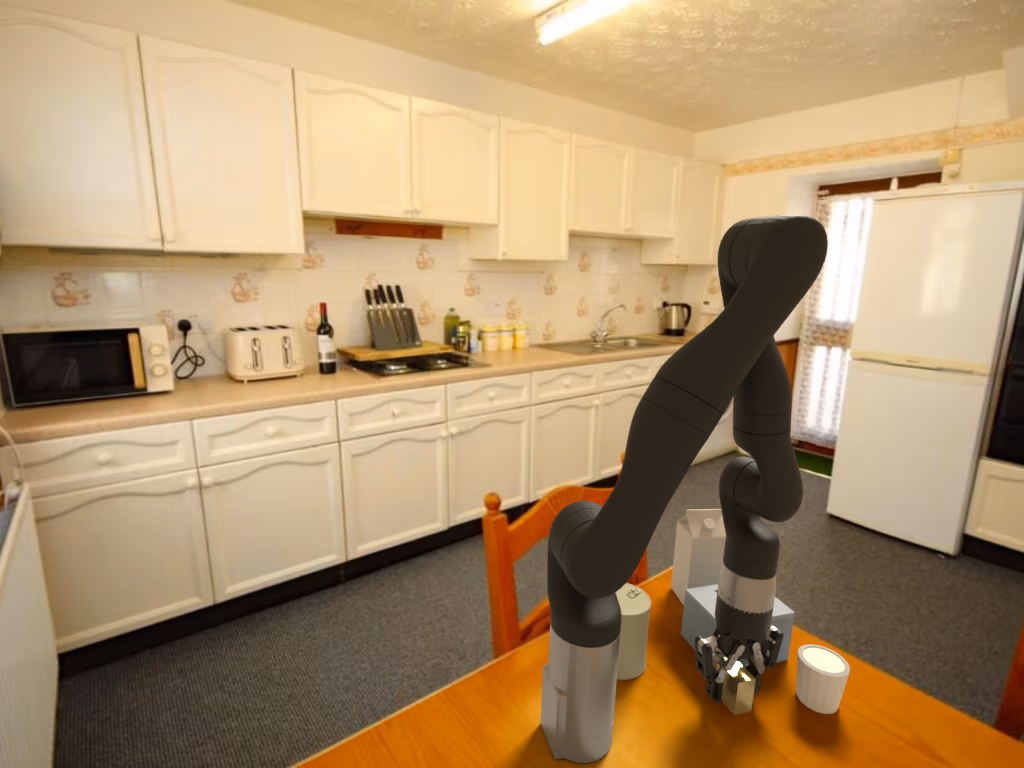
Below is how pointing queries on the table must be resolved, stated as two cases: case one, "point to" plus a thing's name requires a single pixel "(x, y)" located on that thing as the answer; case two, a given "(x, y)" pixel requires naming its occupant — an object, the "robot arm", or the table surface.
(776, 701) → the table surface
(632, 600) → the can
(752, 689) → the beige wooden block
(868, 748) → the table surface
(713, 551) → the milk carton
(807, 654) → the white cup
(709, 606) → the coin box
